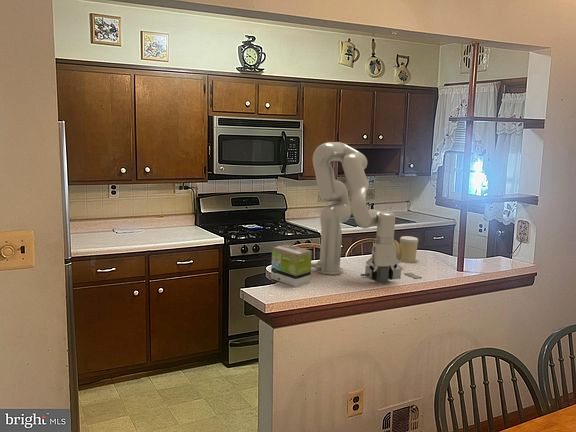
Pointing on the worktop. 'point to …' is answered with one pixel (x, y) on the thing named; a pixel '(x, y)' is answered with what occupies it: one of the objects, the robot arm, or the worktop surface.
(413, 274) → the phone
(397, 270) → the machine vise
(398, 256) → the cantaloupe
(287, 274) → the tea box
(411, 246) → the coffee cup
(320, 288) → the worktop surface
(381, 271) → the charger
